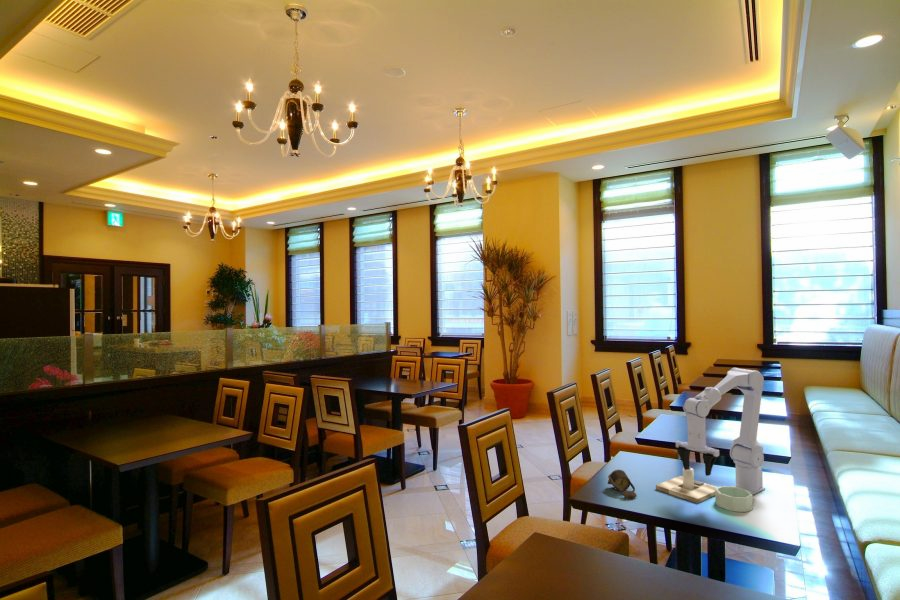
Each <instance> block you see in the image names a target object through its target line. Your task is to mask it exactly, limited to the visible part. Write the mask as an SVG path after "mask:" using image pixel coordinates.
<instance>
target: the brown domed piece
mask: <svg viewBox="0 0 900 600" xmlns="http://www.w3.org/2000/svg"><path fill="white" fill-rule="evenodd" d="M607 478H608V480H607V485H612V487H613V488H614V489H615V490H616V491H618V492H622V493H621V495H622V496H623V497H625V498H626V499H634V498H636V497H637V496H638V495H637V493H636V488H635V485H634V484H633V483H632V482H631V480H630V478H629V477H628V475H627V473H626V472H625V471H624V470H622V469H614V470H613V471H612V472H611V473H610V474H608V477H607ZM630 487H631V488H632V490H628V489H629V488H630Z"/></svg>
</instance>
